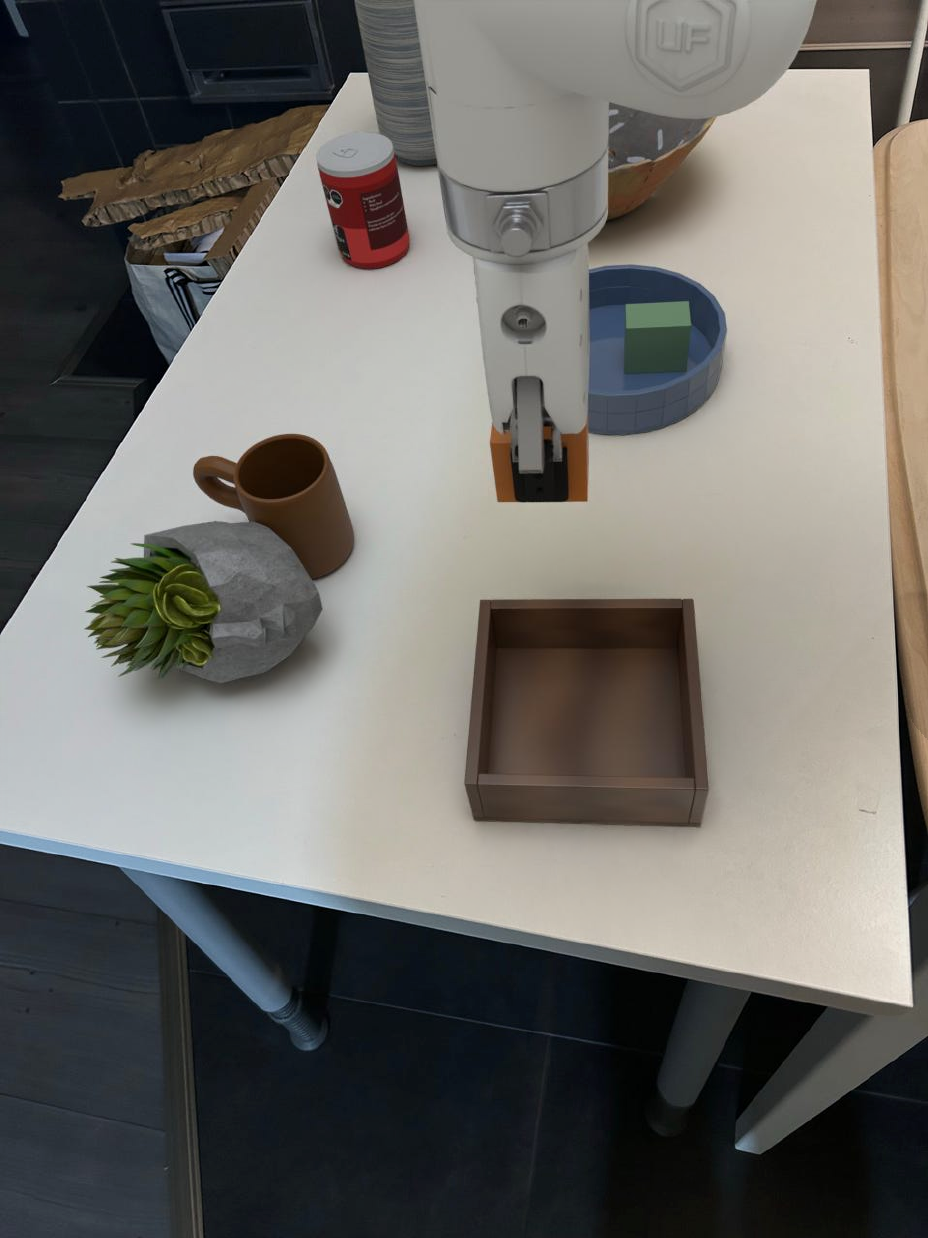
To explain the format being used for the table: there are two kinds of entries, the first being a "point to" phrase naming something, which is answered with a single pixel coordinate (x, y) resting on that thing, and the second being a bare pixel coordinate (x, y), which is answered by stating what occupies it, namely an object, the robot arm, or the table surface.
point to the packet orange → (573, 442)
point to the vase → (397, 77)
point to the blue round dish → (648, 396)
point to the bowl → (645, 153)
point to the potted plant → (207, 602)
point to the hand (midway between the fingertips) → (543, 471)
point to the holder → (587, 713)
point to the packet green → (656, 337)
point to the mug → (286, 496)
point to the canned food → (364, 198)
